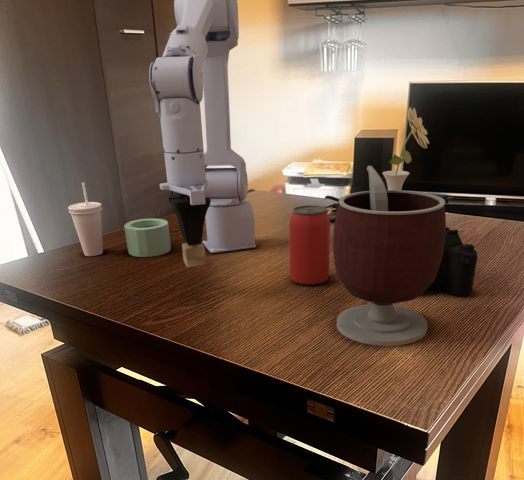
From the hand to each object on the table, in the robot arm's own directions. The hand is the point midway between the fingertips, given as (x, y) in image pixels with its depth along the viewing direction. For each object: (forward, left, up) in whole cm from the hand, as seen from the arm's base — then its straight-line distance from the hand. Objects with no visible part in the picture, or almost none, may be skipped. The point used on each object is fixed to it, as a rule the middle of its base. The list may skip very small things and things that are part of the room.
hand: (192, 242), depth 83 cm
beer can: (-19, +2, -8) cm, 21 cm away
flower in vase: (-43, -11, -8) cm, 45 cm away
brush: (0, 0, -3) cm, 3 cm away
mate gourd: (-21, +22, -8) cm, 32 cm away
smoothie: (+15, -30, -8) cm, 34 cm away
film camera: (-35, +12, -8) cm, 38 cm away
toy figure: (-39, -33, -8) cm, 52 cm away
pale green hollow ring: (+4, -27, -8) cm, 28 cm away
